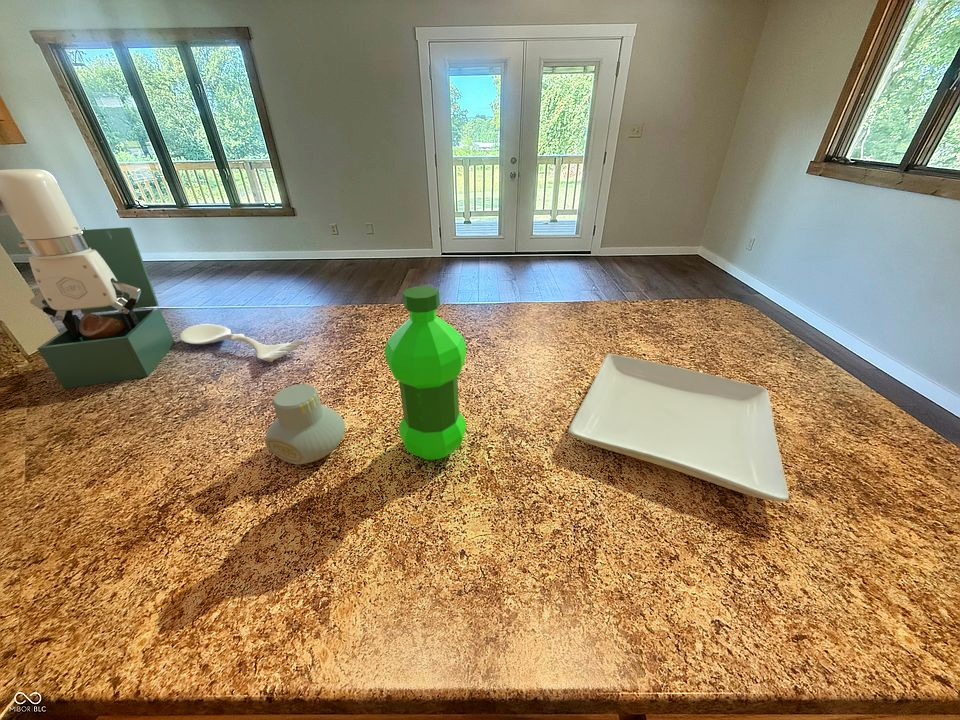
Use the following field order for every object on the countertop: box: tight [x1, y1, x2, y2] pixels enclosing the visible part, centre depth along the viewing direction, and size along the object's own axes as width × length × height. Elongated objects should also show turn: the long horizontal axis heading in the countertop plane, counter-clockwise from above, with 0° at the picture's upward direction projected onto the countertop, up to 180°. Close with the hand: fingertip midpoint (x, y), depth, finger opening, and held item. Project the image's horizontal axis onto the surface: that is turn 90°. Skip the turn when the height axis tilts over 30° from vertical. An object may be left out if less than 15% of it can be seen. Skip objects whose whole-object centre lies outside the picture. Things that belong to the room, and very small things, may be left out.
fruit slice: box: [79, 313, 126, 339], centre depth 76 cm, size 8×7×5 cm
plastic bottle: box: [384, 285, 467, 461], centre depth 52 cm, size 10×10×25 cm
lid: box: [79, 226, 160, 315], centre depth 79 cm, size 16×14×1 cm
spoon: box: [179, 323, 305, 363], centre depth 85 cm, size 9×32×4 cm, turn 67°
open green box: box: [36, 307, 176, 390], centre depth 78 cm, size 16×14×9 cm
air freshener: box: [264, 383, 346, 465], centre depth 56 cm, size 11×8×10 cm
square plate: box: [568, 353, 790, 503], centre depth 61 cm, size 27×27×4 cm
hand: (107, 332), depth 77 cm, fingers closed on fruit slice, 8 cm apart
